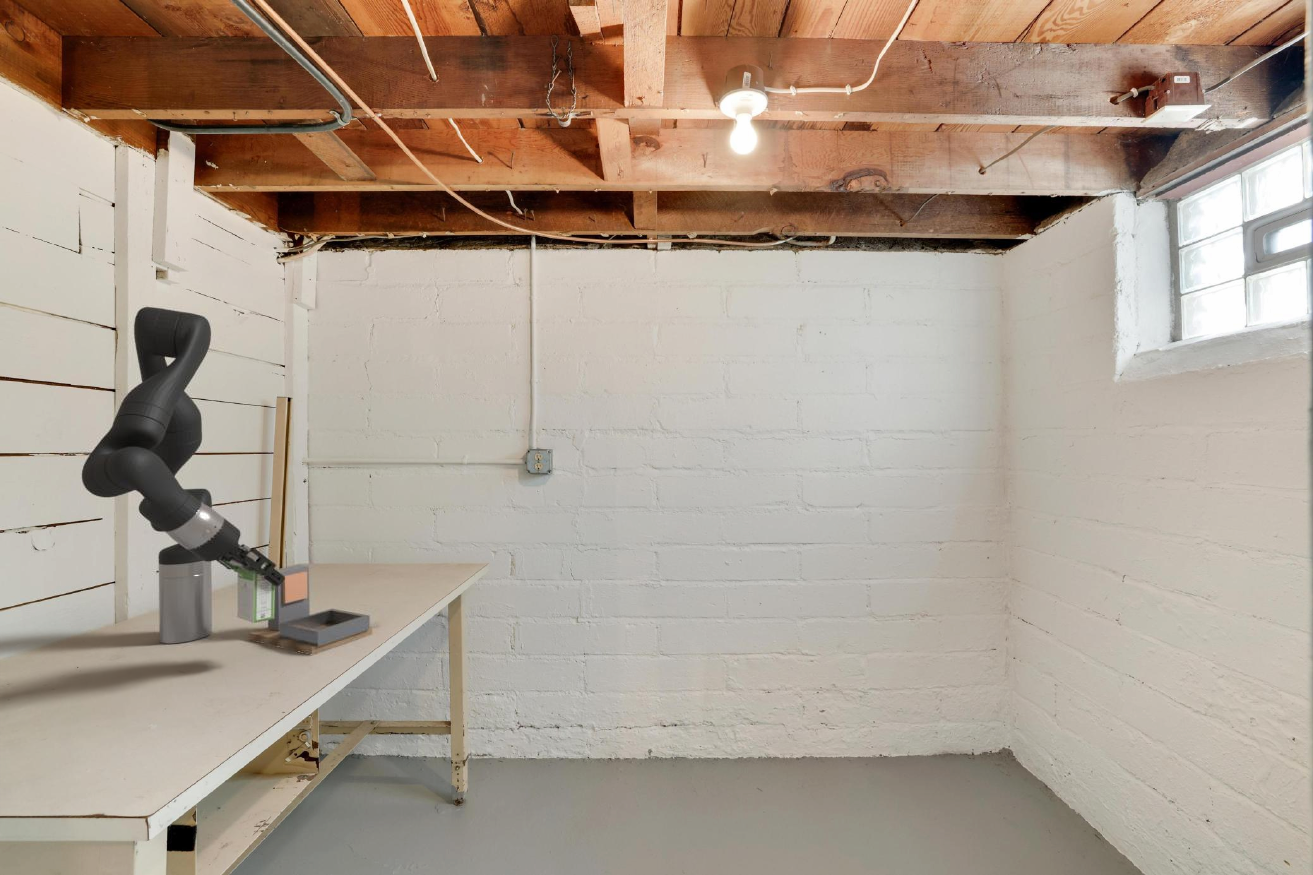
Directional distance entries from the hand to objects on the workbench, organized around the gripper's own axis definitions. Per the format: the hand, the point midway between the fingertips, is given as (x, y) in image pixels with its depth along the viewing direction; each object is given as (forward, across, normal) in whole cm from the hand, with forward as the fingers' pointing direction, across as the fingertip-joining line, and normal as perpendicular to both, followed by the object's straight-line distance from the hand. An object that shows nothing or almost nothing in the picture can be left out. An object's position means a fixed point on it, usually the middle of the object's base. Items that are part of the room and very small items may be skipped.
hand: (269, 579), depth 117 cm
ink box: (+3, 0, +7) cm, 8 cm away
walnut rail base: (+19, +5, +3) cm, 20 cm away
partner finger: (+18, +12, +2) cm, 22 cm away
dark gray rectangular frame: (+18, +3, +2) cm, 19 cm away
